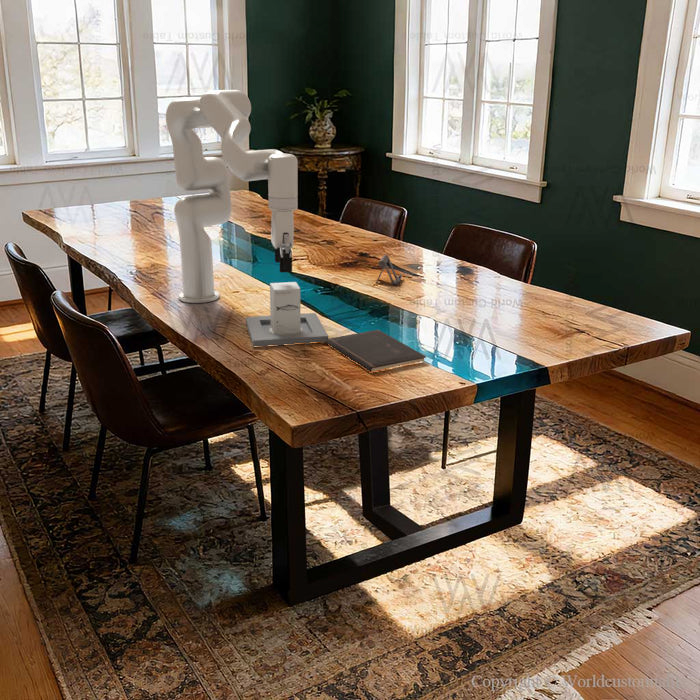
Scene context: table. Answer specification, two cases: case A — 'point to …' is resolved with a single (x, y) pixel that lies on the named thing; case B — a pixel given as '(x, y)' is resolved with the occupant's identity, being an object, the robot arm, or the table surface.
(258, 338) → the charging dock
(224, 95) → the robot arm
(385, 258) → the portable electronic device stand
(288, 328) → the supplement box
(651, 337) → the table surface
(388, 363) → the hardcover book
